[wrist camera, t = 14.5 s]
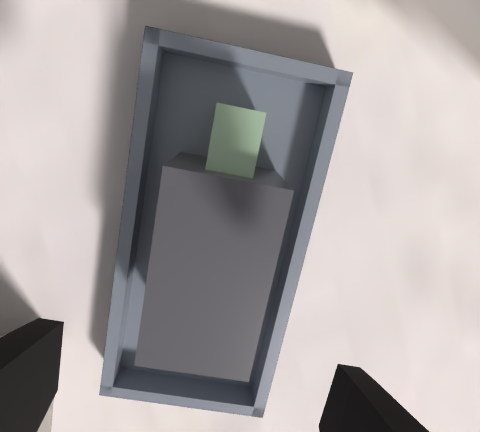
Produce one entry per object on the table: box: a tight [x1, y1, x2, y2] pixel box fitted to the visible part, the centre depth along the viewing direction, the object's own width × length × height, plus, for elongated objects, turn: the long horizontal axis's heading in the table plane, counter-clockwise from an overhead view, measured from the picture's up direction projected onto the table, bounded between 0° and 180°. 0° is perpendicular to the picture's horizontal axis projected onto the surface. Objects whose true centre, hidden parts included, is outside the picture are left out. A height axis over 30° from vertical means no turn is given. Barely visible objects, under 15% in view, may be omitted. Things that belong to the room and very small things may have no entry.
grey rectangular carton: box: [134, 103, 294, 382], centre depth 16 cm, size 10×5×5 cm, turn 169°
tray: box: [99, 26, 353, 418], centre depth 18 cm, size 9×18×2 cm, turn 169°
